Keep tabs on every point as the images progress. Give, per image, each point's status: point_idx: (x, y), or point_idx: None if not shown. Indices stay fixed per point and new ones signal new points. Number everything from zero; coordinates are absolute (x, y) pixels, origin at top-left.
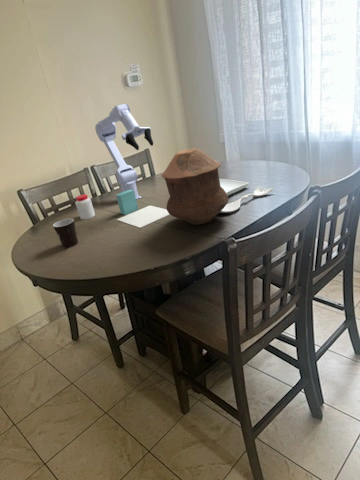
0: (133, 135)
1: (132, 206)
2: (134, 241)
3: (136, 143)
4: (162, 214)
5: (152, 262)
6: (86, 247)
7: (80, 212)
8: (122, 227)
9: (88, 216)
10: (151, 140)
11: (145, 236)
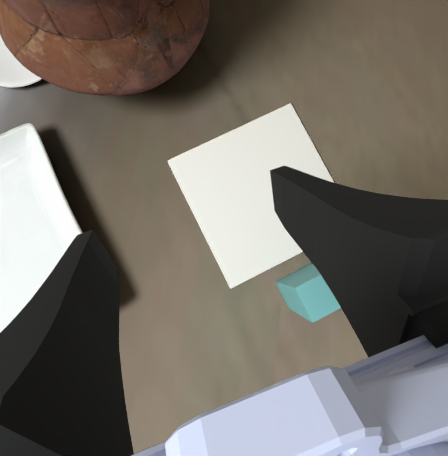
0: (351, 366)
1: (299, 272)
2: (315, 27)
3: (300, 180)
4: (209, 163)
5: None
6: (441, 69)
7: None
8: (340, 146)
9: None
10: (79, 245)
11: (284, 39)
